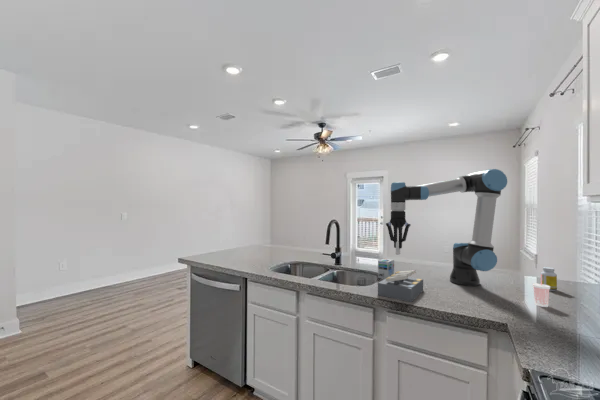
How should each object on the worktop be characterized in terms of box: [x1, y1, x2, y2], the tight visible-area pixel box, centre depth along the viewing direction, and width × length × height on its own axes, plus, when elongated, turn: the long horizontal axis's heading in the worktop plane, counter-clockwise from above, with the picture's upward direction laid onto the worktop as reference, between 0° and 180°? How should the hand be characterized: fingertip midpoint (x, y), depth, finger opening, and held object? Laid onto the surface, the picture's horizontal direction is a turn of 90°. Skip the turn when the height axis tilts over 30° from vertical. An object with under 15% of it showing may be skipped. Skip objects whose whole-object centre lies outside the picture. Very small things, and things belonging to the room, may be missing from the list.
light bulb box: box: [377, 257, 395, 280], centre depth 174 cm, size 11×7×11 cm, turn 143°
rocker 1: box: [386, 275, 409, 282], centre depth 139 cm, size 10×4×2 cm, turn 53°
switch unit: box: [377, 276, 424, 303], centre depth 144 cm, size 16×22×7 cm
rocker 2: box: [390, 272, 413, 277], centre depth 144 cm, size 10×4×2 cm, turn 53°
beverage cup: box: [532, 273, 550, 308], centre depth 128 cm, size 6×6×14 cm
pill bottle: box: [540, 266, 558, 292], centre depth 152 cm, size 6×6×12 cm
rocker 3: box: [394, 269, 417, 275], centre depth 150 cm, size 10×4×2 cm, turn 53°
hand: (397, 254), depth 152 cm, fingers closed
